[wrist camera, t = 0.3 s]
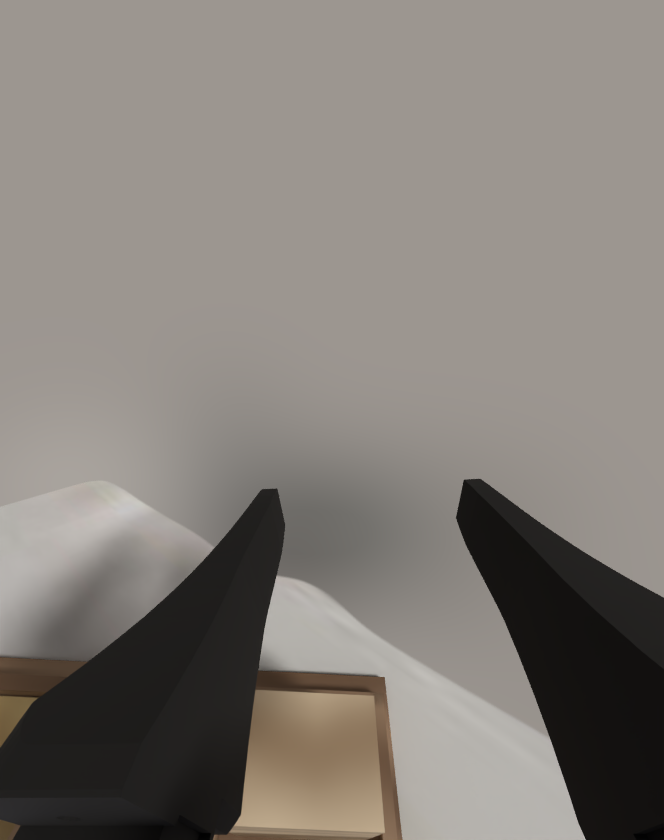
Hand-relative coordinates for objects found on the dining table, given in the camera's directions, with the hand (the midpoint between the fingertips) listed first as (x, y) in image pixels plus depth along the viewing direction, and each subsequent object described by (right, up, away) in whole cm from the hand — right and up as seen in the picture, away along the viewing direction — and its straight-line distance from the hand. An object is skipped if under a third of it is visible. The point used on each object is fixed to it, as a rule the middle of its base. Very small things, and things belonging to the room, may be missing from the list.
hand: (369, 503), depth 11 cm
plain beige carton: (-3, -19, +6) cm, 20 cm away
